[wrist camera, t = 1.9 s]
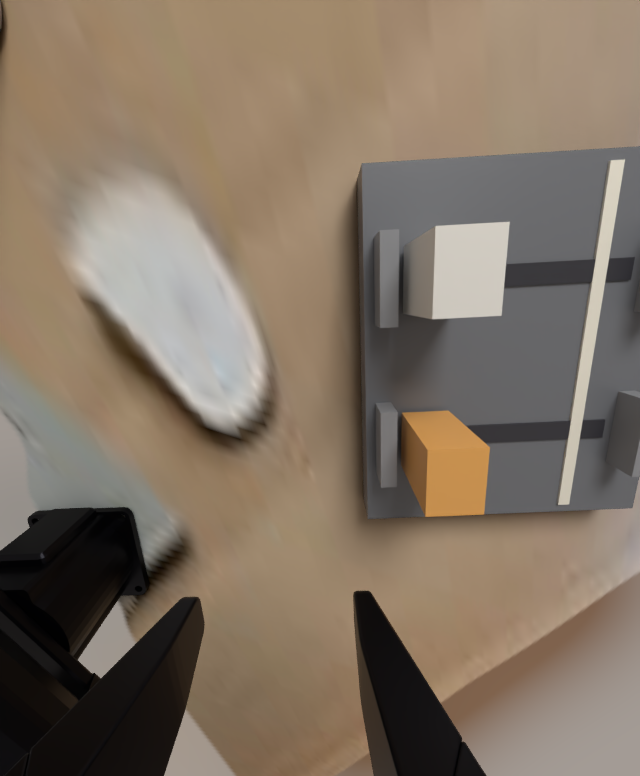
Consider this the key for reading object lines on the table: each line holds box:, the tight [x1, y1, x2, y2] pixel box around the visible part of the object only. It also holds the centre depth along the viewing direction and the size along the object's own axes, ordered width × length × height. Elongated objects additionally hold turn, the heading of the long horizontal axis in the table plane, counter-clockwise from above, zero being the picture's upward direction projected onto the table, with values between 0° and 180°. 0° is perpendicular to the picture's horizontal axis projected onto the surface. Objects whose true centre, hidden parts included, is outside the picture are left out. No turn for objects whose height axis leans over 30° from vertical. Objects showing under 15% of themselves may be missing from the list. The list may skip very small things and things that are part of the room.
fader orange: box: [401, 411, 490, 517], centre depth 15 cm, size 3×2×4 cm
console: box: [357, 146, 640, 519], centre depth 17 cm, size 18×15×4 cm
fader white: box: [403, 222, 510, 319], centre depth 13 cm, size 3×2×4 cm
